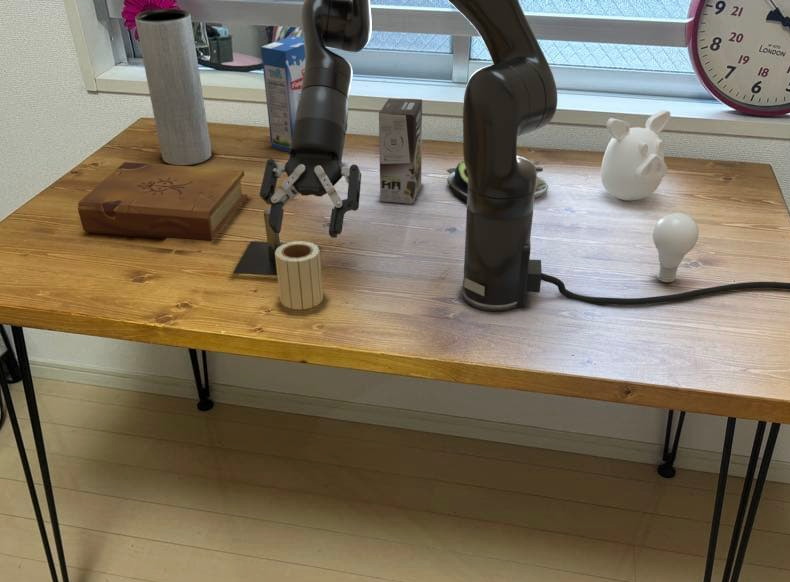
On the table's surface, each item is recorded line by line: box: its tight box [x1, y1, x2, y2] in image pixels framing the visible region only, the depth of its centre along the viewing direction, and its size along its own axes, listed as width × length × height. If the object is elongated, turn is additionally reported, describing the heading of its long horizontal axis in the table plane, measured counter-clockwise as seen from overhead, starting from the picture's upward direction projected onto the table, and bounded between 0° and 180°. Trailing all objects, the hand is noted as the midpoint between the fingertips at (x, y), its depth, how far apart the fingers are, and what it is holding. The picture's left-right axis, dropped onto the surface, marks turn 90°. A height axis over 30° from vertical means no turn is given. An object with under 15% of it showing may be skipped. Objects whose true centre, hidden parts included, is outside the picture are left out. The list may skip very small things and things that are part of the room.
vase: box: [134, 8, 212, 166], centre depth 158 cm, size 10×10×27 cm
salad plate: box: [445, 160, 549, 204], centre depth 151 cm, size 19×18×5 cm
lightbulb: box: [652, 211, 700, 284], centre depth 121 cm, size 6×6×11 cm
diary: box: [77, 161, 248, 241], centre depth 142 cm, size 23×19×6 cm
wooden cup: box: [275, 240, 324, 311], centre depth 117 cm, size 6×6×8 cm
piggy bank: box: [600, 109, 671, 201], centre depth 144 cm, size 12×12×15 cm
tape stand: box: [232, 207, 317, 277], centre depth 127 cm, size 11×11×9 cm
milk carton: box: [260, 35, 305, 153], centre depth 166 cm, size 10×6×20 cm, turn 147°
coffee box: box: [378, 98, 423, 205], centre depth 146 cm, size 9×6×16 cm
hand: (304, 233), depth 116 cm, fingers open, 8 cm apart
